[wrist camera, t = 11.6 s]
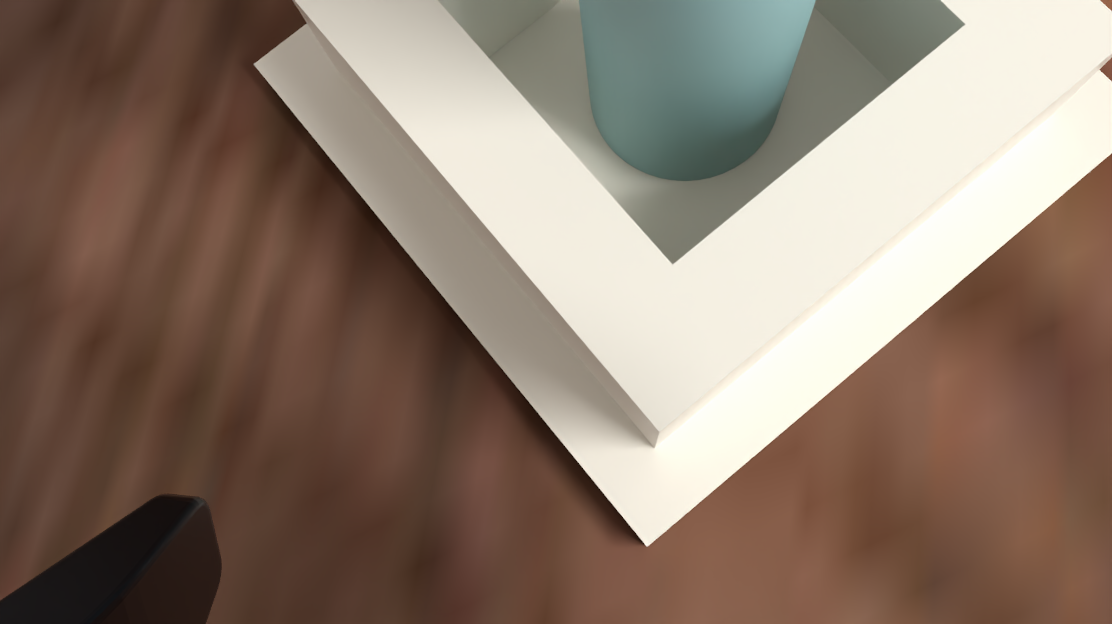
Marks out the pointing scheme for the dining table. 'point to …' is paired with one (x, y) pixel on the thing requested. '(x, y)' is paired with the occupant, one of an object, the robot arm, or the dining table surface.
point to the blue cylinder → (689, 78)
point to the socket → (697, 206)
